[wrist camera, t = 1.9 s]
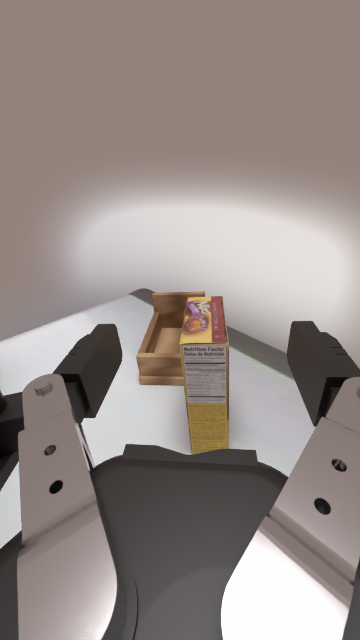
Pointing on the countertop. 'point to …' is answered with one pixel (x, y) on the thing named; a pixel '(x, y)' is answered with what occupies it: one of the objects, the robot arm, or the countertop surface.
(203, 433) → the candy box
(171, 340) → the brown wooden open box
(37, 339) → the countertop surface
